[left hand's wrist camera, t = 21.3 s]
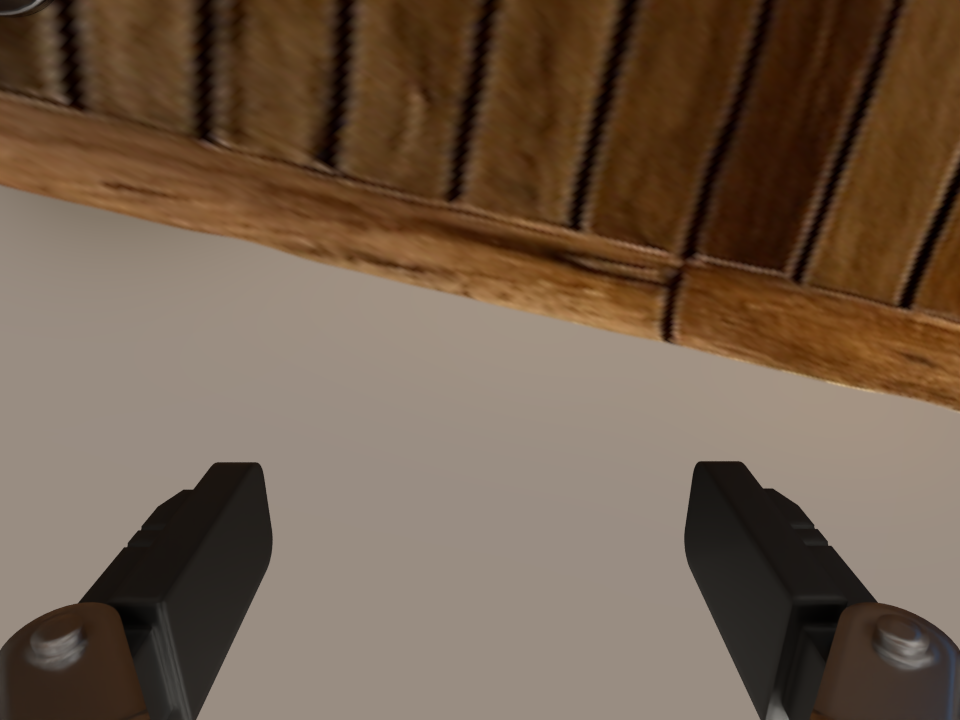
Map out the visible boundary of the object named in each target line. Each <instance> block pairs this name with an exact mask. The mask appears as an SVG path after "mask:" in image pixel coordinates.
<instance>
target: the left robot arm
mask: <svg viewBox="0 0 960 720" xmlns="http://www.w3.org/2000/svg"><path fill="white" fill-rule="evenodd" d="M52 1H53V0H0V16H3V17H22V16H27V15H31V14H34V13H36V12H38V11H40V10H42V9H44V8H45V7H47V6H48V5H49V4H50V3H52ZM272 540H273V539H272V528H271V521H270V514H269V508H268V501H267V494H266V487H265V481H264V474H263V470H262V468H261V466H260V464H259V463H256V462H217V463H215V464H213V465H212V466H211V467H210V469H209V470H208V471H207V473H206V474H205V475H204V476H203V478H202V479H201V480H200V482H199V483H198V484H197V486H196V487H195V488H194V489H193V490H182V491H181V492H179V493H178V494H176V495H175V496H173V497H172V498H170V499H169V500H167V501H166V502H164V503H163V504H161V505H160V506H158V507H157V508H156V510H155V511H154V512H153V513H152V514H151V516H150V517H149V518H148V519H147V520H146V522H145V523H144V524H143V525H142V529H141V531H137V533H136V534H135V535H134V536H133V537H132V539H131V540H130V541H129V542H128V547H124V548H123V550H122V551H121V552H120V553H119V554H118V556H117V557H116V558H115V559H114V560H113V562H112V563H111V564H110V565H109V566H108V568H107V569H106V570H105V571H104V572H103V574H102V575H101V576H100V577H99V578H98V580H97V581H96V582H95V583H94V585H93V586H92V587H91V588H90V589H89V591H88V592H87V593H86V594H85V595H84V597H83V598H82V599H81V600H80V601H79V603H78V604H73V605H69V606H65V607H62V608H59V609H56V610H53V611H51V612H49V613H46V614H44V615H42V616H40V617H38V618H37V619H35V620H33V621H32V622H30V623H28V624H27V625H25V626H24V627H23V628H21V629H20V630H19V631H17V632H16V633H15V634H14V635H13V636H12V637H11V638H10V639H9V640H8V641H7V642H6V643H5V644H4V646H3V647H2V648H1V650H0V720H196V719H197V716H198V714H199V712H200V710H201V708H202V706H203V704H204V702H205V700H206V697H207V695H208V693H209V691H210V689H211V687H212V685H213V683H214V680H215V678H216V676H217V674H218V672H219V670H220V668H221V666H222V664H223V661H224V659H225V657H226V655H227V653H228V651H229V649H230V647H231V644H232V642H233V640H234V638H235V636H236V634H237V632H238V630H239V627H240V625H241V623H242V621H243V619H244V617H245V615H246V613H247V611H248V608H249V606H250V604H251V602H252V600H253V598H254V596H255V593H256V591H257V589H258V587H259V585H260V583H261V581H262V579H263V576H264V574H265V572H266V570H267V568H268V565H269V562H270V558H271V553H272ZM684 542H685V552H686V557H687V561H688V565H689V567H690V569H691V571H692V574H693V576H694V578H695V580H696V582H697V584H698V587H699V589H700V591H701V593H702V595H703V597H704V599H705V601H706V604H707V606H708V608H709V610H710V612H711V614H712V617H713V619H714V621H715V623H716V625H717V627H718V629H719V632H720V634H721V636H722V638H723V640H724V642H725V644H726V647H727V649H728V651H729V653H730V655H731V657H732V659H733V662H734V664H735V666H736V668H737V670H738V672H739V675H740V677H741V679H742V681H743V683H744V685H745V687H746V689H747V692H748V694H749V696H750V698H751V700H752V702H753V705H754V707H755V709H756V711H757V713H758V715H759V717H760V719H761V720H960V650H959V648H958V647H957V646H956V644H955V643H954V642H953V641H952V640H951V639H950V638H949V637H948V636H947V635H946V634H945V633H944V632H943V631H941V630H940V629H939V628H937V627H936V626H935V625H933V624H932V623H930V622H928V621H927V620H925V619H923V618H921V617H920V616H918V615H916V614H914V613H911V612H909V611H907V610H904V609H901V608H898V607H895V606H891V605H887V604H882V603H878V602H877V601H876V600H875V599H874V597H873V596H872V595H871V594H870V593H869V591H868V590H867V589H866V588H865V586H864V585H863V584H862V583H861V581H860V580H859V579H858V578H857V577H856V575H855V574H854V573H853V572H852V570H851V569H850V568H849V567H848V566H847V564H846V563H845V562H844V561H843V559H842V558H841V557H840V556H839V555H838V553H837V552H836V551H835V550H834V549H833V547H832V546H828V541H827V540H826V539H825V538H824V536H823V535H822V534H821V533H820V531H819V530H818V529H815V528H814V524H813V523H812V522H811V521H810V519H809V518H808V517H807V516H806V514H805V513H804V512H803V511H802V510H801V508H800V507H799V506H798V505H797V504H795V503H794V502H792V501H791V500H789V499H788V498H786V497H785V496H783V495H782V494H780V493H779V492H777V491H775V490H774V489H763V488H762V487H761V485H760V484H759V483H758V482H757V480H756V479H755V478H754V476H753V475H752V474H751V472H750V471H749V470H748V468H747V467H746V466H745V465H744V464H743V463H742V462H739V461H701V462H698V463H697V464H696V466H695V468H694V472H693V478H692V485H691V492H690V498H689V505H688V512H687V519H686V526H685V534H684Z"/></svg>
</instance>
